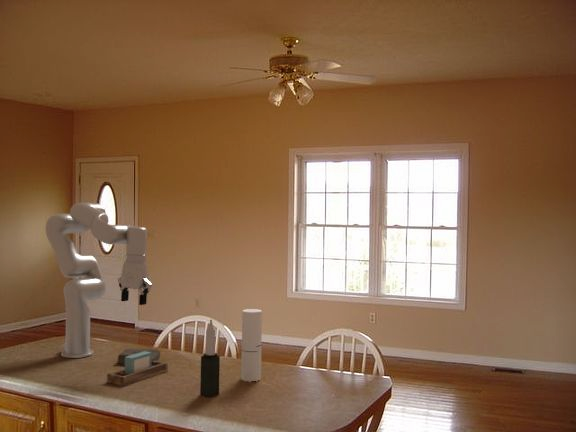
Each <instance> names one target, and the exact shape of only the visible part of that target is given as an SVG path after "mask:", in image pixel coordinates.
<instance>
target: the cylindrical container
mask: <svg viewBox="0 0 576 432" xmlns="http://www.w3.org/2000/svg"><path fill="white" fill-rule="evenodd" d="M241 311H242V317H241V318H242V319H241V320H242V321H241V324H242V326H241V362H240V363H241V364H240V365H241V367H240V368H241V369H240V370H241V371H240V373H241V374H240V379H242V380H244V381H243V382H246V381H249V382H248V383H252V382H251V381H256V382H259V381H261V380H260V379H261V378H262V340H263V339H262V336H263V335H262V331H263V330H262V328H263V310H261V309H260V308H259V309H257V308H246V309H243V310H241ZM242 380H241V381H242ZM258 380H259V381H258Z"/></svg>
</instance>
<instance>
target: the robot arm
mask: <svg viewBox="0 0 576 432" xmlns="http://www.w3.org/2000/svg"><path fill="white" fill-rule="evenodd" d="M88 231H91V234H92V236H93V237H94V238H95V239H96V240H98V241H100V242H102V243H104V244H107V245H126V247H125V255H124V257H125V261H124V262H123V265H122V270H121V274H120V275H121V276H120V277H119V278H117V281H118V286H119V288H120V292H121V299H120V301H121V302H128V301H129V297H130V296H129V295H130V291H129V289H131V290H138V291H139V293H140V294H139V298H138V299H139V301H138V305H139V306H145V305H147V299H148V298H147V297H148V294H149V292H151V288H152V286H153V284H152V283H151V281H149V280H148V263H147V243H148V242H147V241H148V229H147V228H146V227H144V226H134V225H132V224H109V216H108V214H107V213H106V209H105V207H104V206H103V205H102V204H101V203H97V202H78V203H74V204H73V205H72V206H71V207H70V210H69V213H57V214H53V215H51V216H50V217H48V219H47V220H46V223H45V235H46V238H47V241H48V242H49V244H50V245H51V248H52V250H53V253H54V256H55V259H56V261H57V265H58V268H59V270H60V272H61V275H62V276H63V277H64V278H69V279H71V280H69V281H67V282H66V283H65V284H64V287H63V296H64V302H65V303H64V304H65V342H63V343H62V344H61V345H60V347H61V348H63V351H61V354H60V356H61V357H62V358H67V359H80V358H86V357H90V356H92V355H93V354H94V350H93V348H90V347H91V346H90V345H91V340H90V339H91V311H90V310H91V309H90V307H89V305H88V304H87V301H92V300H99V299H101V298H102V297H104V296H105V294H106V288H107V287H106V282H105V279H104V277H103V274H102V271H101V268H100V266H99V263H98V261H97V259H96V257H95V256H93V255H91V254H86V253H85V254H83V253H81V254H80V253H78V251H77V249H76V246H75V244H74V242H73V240H71V238H70V237H69V236H67V235H68V234H83V233H84V234H85V233H86V232H88ZM72 278H73V279H72Z"/></svg>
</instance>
